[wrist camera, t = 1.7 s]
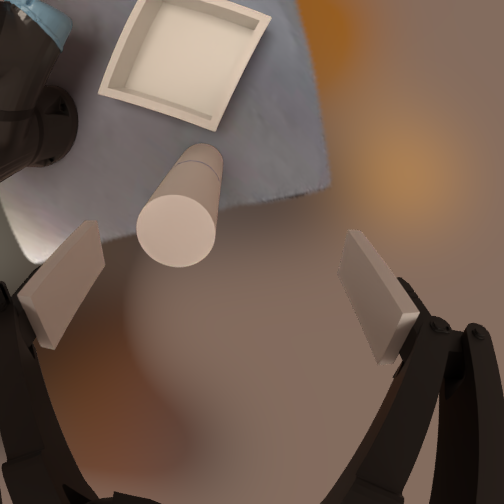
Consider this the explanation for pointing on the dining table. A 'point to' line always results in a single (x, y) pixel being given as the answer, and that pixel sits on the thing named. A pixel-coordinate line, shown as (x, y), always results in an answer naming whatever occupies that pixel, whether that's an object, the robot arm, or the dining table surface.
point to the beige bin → (183, 57)
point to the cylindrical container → (183, 209)
